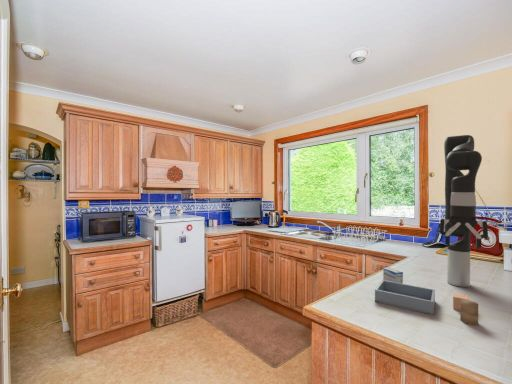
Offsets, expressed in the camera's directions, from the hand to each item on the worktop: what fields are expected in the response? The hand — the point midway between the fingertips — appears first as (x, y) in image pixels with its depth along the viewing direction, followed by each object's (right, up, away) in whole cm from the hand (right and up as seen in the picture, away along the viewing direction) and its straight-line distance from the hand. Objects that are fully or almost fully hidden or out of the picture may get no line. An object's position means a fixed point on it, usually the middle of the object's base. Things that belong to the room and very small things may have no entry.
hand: (462, 247), depth 99 cm
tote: (-15, -26, +13) cm, 32 cm away
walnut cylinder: (-1, -26, -5) cm, 26 cm away
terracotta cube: (+4, -26, +6) cm, 27 cm away
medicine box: (-11, -26, +29) cm, 41 cm away
